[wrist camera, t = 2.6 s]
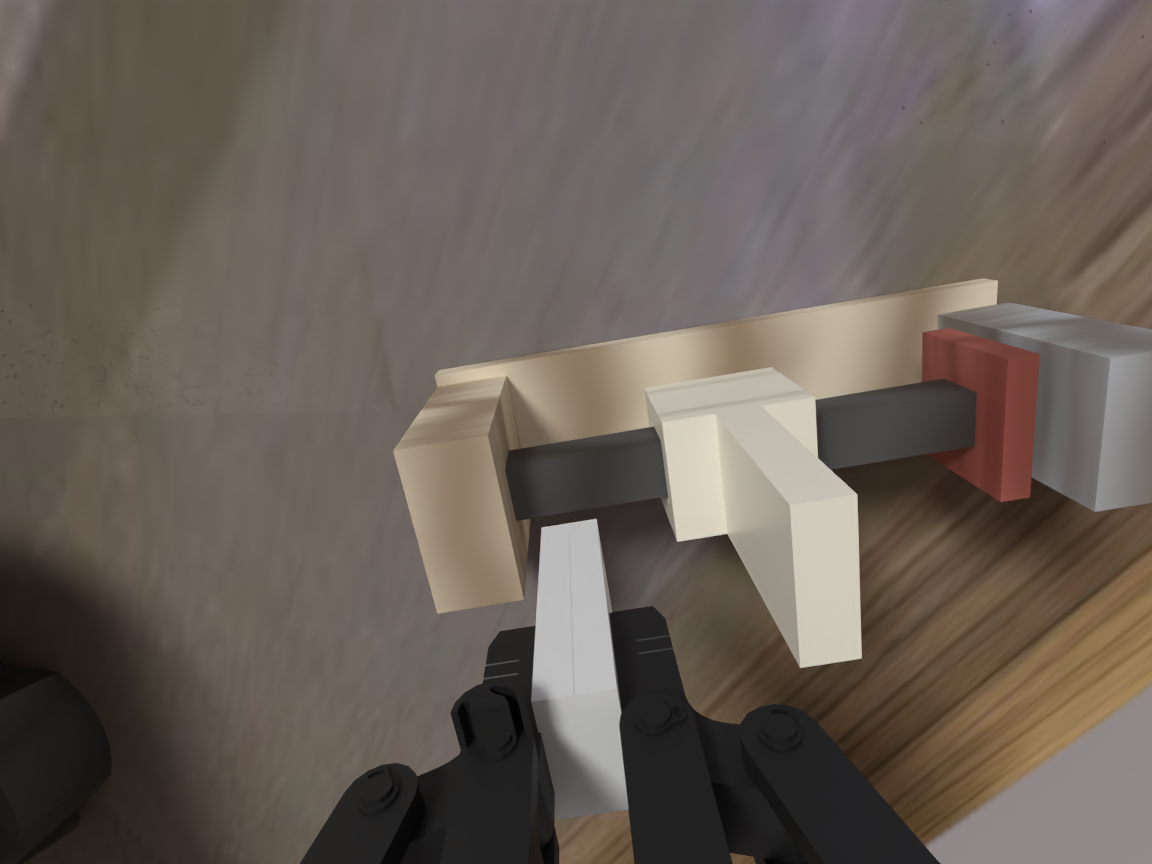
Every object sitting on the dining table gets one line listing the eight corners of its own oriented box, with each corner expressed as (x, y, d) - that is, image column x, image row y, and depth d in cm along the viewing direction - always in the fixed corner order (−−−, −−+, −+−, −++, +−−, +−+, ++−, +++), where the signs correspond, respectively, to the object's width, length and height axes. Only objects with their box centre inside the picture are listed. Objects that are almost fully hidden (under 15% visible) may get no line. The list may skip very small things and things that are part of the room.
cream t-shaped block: (658, 490, 27) (728, 679, 16) (644, 388, 25) (711, 518, 14) (779, 470, 26) (933, 647, 16) (771, 366, 25) (936, 481, 14)
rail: (472, 512, 31) (435, 644, 21) (438, 370, 29) (380, 446, 19) (987, 427, 30) (1185, 524, 21) (994, 276, 28) (1219, 307, 18)
